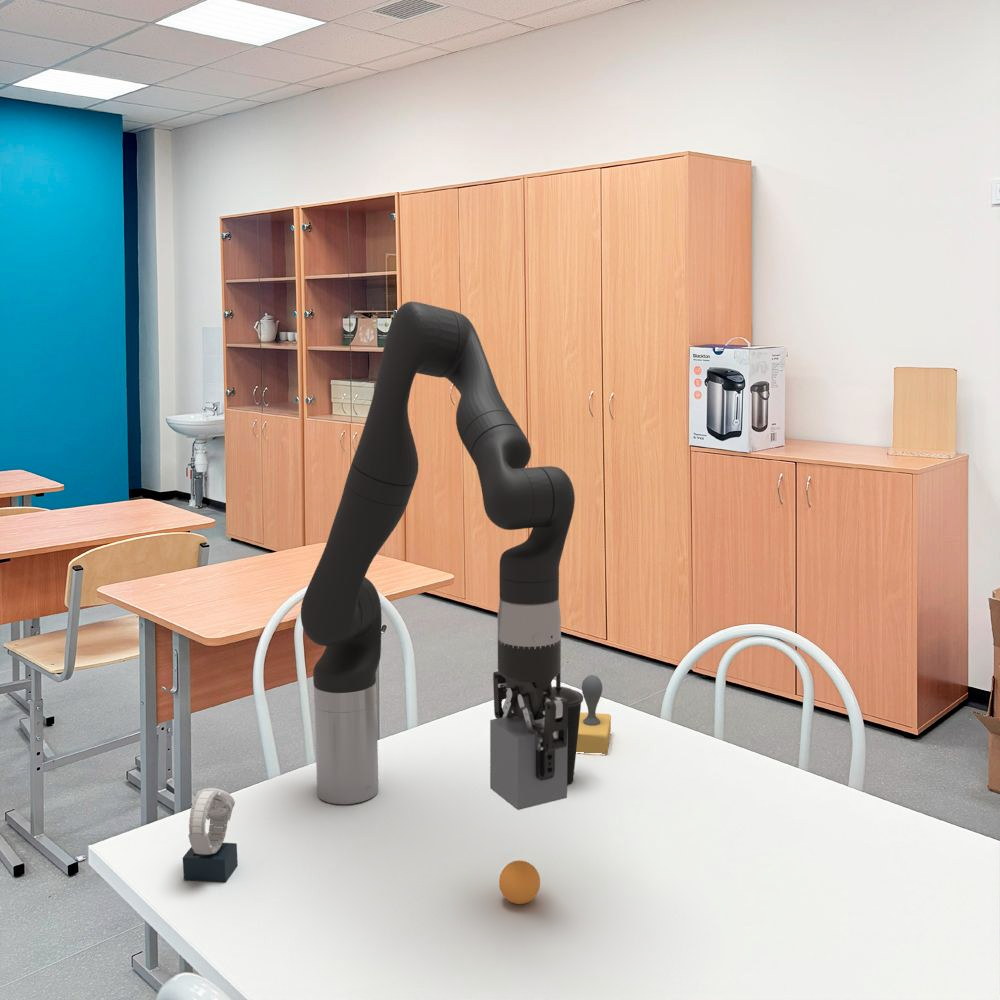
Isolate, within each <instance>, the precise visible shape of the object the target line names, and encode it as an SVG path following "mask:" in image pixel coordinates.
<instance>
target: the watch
mask: <svg viewBox="0 0 1000 1000" xmlns="http://www.w3.org/2000/svg"><path fill="white" fill-rule="evenodd" d="M235 804H236V802H235V798H234V797H233V796H232V795H231V794H230V793H229V792H227V791H225V790H222V789H221V788H220V789H219V788H216V787H215V788H214V787H207V788H204V789H201V790H198V791H197V792H196V795H195V797H194V799H193V801H192V804H191V808H190V812H189V820H188V822H189V824H188V829H189V830H188V831H189V832H188V839H189V843H190V848H189V849H188V850H187V852H186V853H185V854H184V855H183V857H182V867H183V868H182V871H183V881H187V882H204V883H205V882H206V883H207V882H208V883H227V882H228V880H229V879H230V877H231V876H232V874H233V873H234V872H235V871H236V869H237V867H238V866H239V865H238V844H237V843H235V842H224V841H225V838H226V834H227V829H228V822H230V820H231V817H232V815H233V814H232V813H233V809H234V807H235ZM207 820H208V821H209V826H208V832H207V831H206V823H207V822H206V821H207ZM206 832H207V833H206Z"/></svg>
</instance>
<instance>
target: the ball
mask: <svg viewBox="0 0 1000 1000" xmlns="http://www.w3.org/2000/svg"><path fill="white" fill-rule="evenodd" d="M498 880H499V881H498V884H499V886H498V887H499V889H500V892H501V894H502V896H503V897H504V898H505V899H506V900H507V901H508V902H510V903H513V904H516V905H523V904H524V905H525V904H527V903H529V902H531V901H533V899H535V897H536V896H537V895H538V893H539V890H540V887H541V878H540V875H539V872H538V869H536V867H535V866H534V865H533V864H531V863H530V862H528V861H525V860H514V861H511V862H509V863H508V864H506V865H505V866H504V868H503V869H502V870H501V873H500V875H499V879H498Z"/></svg>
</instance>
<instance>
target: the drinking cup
mask: <svg viewBox="0 0 1000 1000" xmlns="http://www.w3.org/2000/svg"><path fill="white" fill-rule="evenodd" d="M561 673H562V672H561V670H560V673H559V674H558V675H557V676H556V677H555V686H552V690H553V694H554V697H555V698H556V699H558V700H560V699H566V700H567V701H568V748H567V786H569V784H570V785H571V784H572V783H574V778H575V776H574V775H575V766H576V765H575V764H576V759H577V758H576V756H577V754H576V749H577V739H578V729H579V719H580V712H581V709H582V708H581V707H582V702H583V701H584V696H583V693H581V692H580V691H578V690H575V689H573V688H570V687H566V686H562V685H561V680H562V679H561V678H562V677H561ZM583 703H584V702H583Z"/></svg>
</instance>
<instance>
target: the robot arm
mask: <svg viewBox="0 0 1000 1000" xmlns="http://www.w3.org/2000/svg"><path fill="white" fill-rule="evenodd" d="M384 341H385V342H384V346H383V350H382V354H381V359H380V363H379V369H378V372H377V375H376V382H375V386H374V390H373V394H372V399H371V403H370V407H369V409H368V413H367V416H366V420H365V422H364V426H363V429H362V433H361V435H360V439H359V441H358V444H357V447H356V450H355V453H354V455H353V458H352V460H351V465H350V468H349V470H348V473H347V476H346V477H347V478H346V481H345V483H344V485H343V486H344V487H343V491H342V495H341V498H340V501H339V504H338V507H337V511H336V513H335V516H334V519H333V522H332V526H331V528H330V532H329V534H328V539H327V541H326V545H325V547H324V550H323V552H322V554H321V557H320V559H319V560H318V561H319V562H318V564H317V566H316V569H315V570H314V572H313V575H312V577H311V579H310V582H309V584H308V586H307V589H306V591H305V593H304V596H303V598H302V602H301V604H300V605H301V607H300V622H301V626H302V628H303V629H302V630H303V631H304V633H305V635H306V636H307V637H308V639H309V640H310V641H311V642H313V643H314V644H316V645H319V646H323V647H325V649H324V651H323V653H322V655H321V656H320V658H319V659H318V660H317V662H316V663H315V665H314V667H313V673H312V676H313V699H314V700H313V701H314V702H313V703H314V732H315V734H314V735H315V761H316V762H315V763H316V764H315V765H316V766H315V768H316V792H317V793H316V794H317V797H318V798H319V799H320V800H322V801H324V802H326V803H330V804H334V805H353V804H358V803H361V802H362V803H363V802H365V801H368V800H371V799H372V798H374V797H375V796H376V795H377V794H378V792H379V752H378V751H379V749H378V747H379V746H378V712H377V711H378V709H377V705H378V704H377V670H378V667H379V664H380V660H381V657H382V656H381V654H382V652H381V651H382V620H383V618H382V615H383V614H382V606H381V605H382V604H381V600H380V596H379V592H378V590H377V588H376V587H375V585H374V584H373V583H372V582H371V580H369V579H368V578H367V577H366V575H367V572H368V571H369V569H370V566H371V564H372V563H373V561H374V559H375V557H376V556H377V555H378V553H379V551H380V550H381V548H382V547H383V546H384V544H385V543H386V541H387V540H388V539H389V537H390V536H391V534H392V533H393V531H394V530H395V528H396V527H397V526H398V523H399V522H400V520H401V519H402V517H403V515H404V513H405V511H406V509H407V506H408V504H409V501H410V498H411V496H412V492H413V490H414V486H415V484H416V481H417V478H418V473H419V458H418V452H417V446H416V443H415V438H414V435H413V431H412V428H411V426H410V425H411V424H410V419H409V418H410V417H409V409H408V407H409V401H410V400H409V399H410V394H411V389H412V387H413V386H412V385H413V383H414V382H413V381H414V380H415V376H416V374H418V375H419V374H420V375H425V376H429V377H435V378H445V379H447V380H448V381H449V382H450V383H451V384H452V385H453V386H454V387H455V389H456V390H458V393H460V397H459V400H458V403H457V407H456V412H455V413H456V414H455V422H456V423H455V424H456V429H457V433H458V435H459V438H460V440H461V442H462V444H463V446H464V447H465V449H466V451H467V453H468V454H469V456H470V458H471V460H472V461H473V463H474V465H475V467H476V470H477V475H478V479H479V484H480V487H481V488H480V489H481V493H482V503H483V507H484V508H483V509H484V510H485V511H484V513H485V514H486V516H487V518H488V519H489V520H490V522H492V524H494V525H495V526H496V527H498V528H499V529H502V530H507V531H513V530H514V531H515V530H522V529H531V532H530V533H529V536H528V537H527V539H526V540H525V541H524V542H522V543H520V544H518V545H517V544H516V545H515V546H512V547H511V548H508V549H506V550H505V551H504V552H502V553H501V555H500V558H499V574H498V575H499V577H498V578H499V600H498V601H499V602H498V604H499V605H498V610H497V671H494V672H493V673H492V674H493V675H492V677H493V679H492V681H493V708H494V709H493V711H494V717H495V719H497V718H503V717H507V718H512V717H514V716H518V715H519V716H522V717H523V718H524V719H525V721H526V725H527V729H528V731H529V732H531V733H532V734H534V735H535V745H536V748H537V749H536V778H537V779H539V780H540V781H543V780H547V779H551V778H553V777H554V774H555V750H556V749H560V748H565V747H566V746H567V728H568V701H567V700H566V699H560V700H558V699H556V698H555V697H554V694H553V690H552V687H553V685H552V682H553V680H554V678H555V679H556V676H557V675H558V674H559V673H560V670H561V666H562V664H561V663H562V660H561V659H562V658H561V656H562V655H561V654H562V653H561V652H562V649H561V648H562V645H561V644H562V618H561V617H562V616H561V607H560V594H559V593H560V565H561V563H560V562H561V560H562V559H561V558H562V555H563V552H564V548H565V544H566V539H567V535H568V532H569V529H570V526H571V522H572V518H573V515H574V510H575V502H576V498H575V496H576V495H575V489H574V486H573V482H572V481H571V479H570V477H569V475H568V474H567V473H566V471H564V470H563V469H561V468H560V467H558V466H549V465H547V466H535V467H527V465H528V464H529V462H530V460H531V457H532V449H531V444H530V442H529V440H528V438H527V436H526V435H525V433H524V432H523V430H522V429H521V427H520V424H518V422H517V420H516V419H515V418H514V416H513V414H512V412H511V411H510V409H509V408H508V407H507V405H506V403H505V401H504V400H503V397H502V395H501V393H500V392H499V389H498V387H497V384H496V383H497V382H496V381H495V379H494V375H493V372H492V370H491V366H490V365H489V362H488V358H487V356H486V353H485V351H484V349H483V345H482V343H481V340H480V337H479V335H478V333H477V330H476V329H475V327H474V325H473V323H472V322H471V321H470V319H469V318H468V317H467V316H465V315H464V314H463V313H460V312H458V311H455V310H451V309H448V308H443V307H440V306H437V305H436V306H435V305H431V304H427V303H422V302H418V301H407V302H404V303H403V304H402V305H401V306H400V307H398V309H397V310H396V312H395V314H394V315H393V317H392V320H391V322H390V324H389V327H388V331H387V333H386V338H385V340H384ZM503 700H505V701H504V703H503ZM502 704H503V705H502ZM544 717H545V720H544V722H542V723H536V722H535V720H539V719H543V718H544ZM541 730H544V740H543V739H542V735H541ZM556 731H558V738H557V735H556Z"/></svg>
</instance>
